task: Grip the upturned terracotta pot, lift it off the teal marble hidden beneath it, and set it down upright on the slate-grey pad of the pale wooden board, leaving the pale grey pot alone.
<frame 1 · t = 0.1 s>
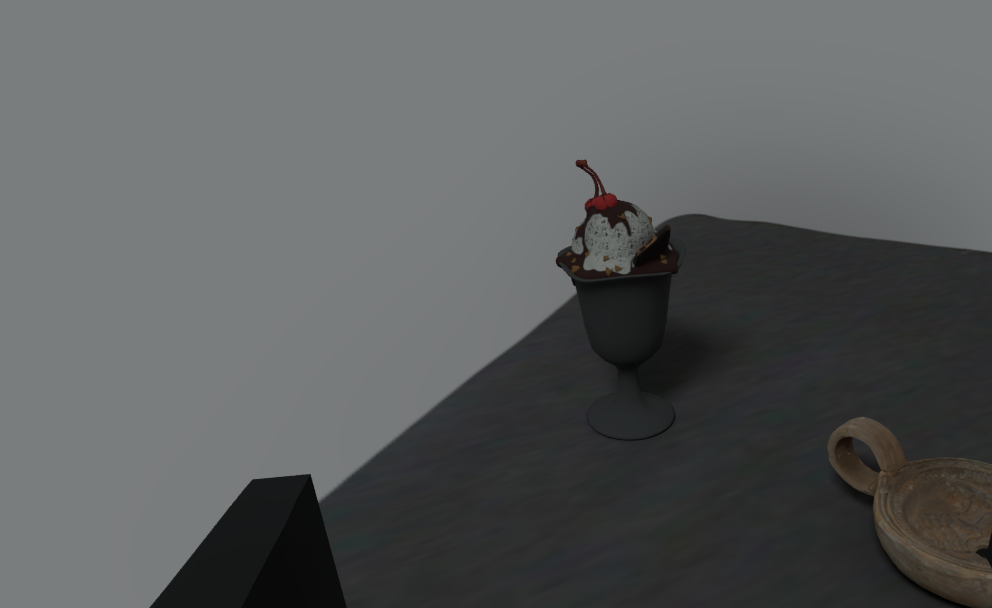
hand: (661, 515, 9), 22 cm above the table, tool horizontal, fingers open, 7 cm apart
oil lamp: (965, 572, 37), on the table
sundae: (629, 419, 50), on the table
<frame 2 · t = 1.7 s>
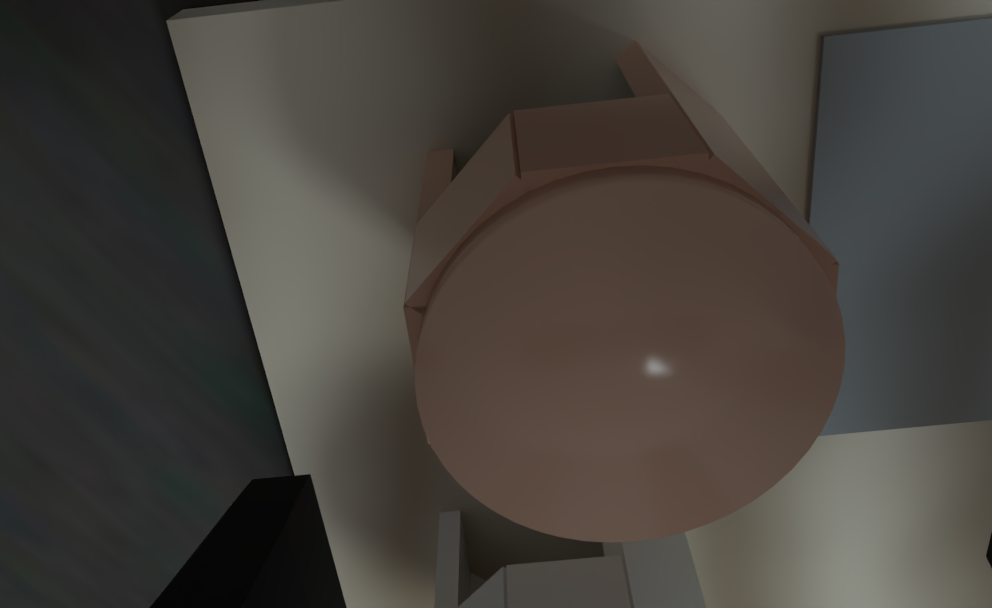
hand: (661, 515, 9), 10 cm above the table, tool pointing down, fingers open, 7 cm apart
grey pot: (559, 536, 21), point 1 cm above the table, touching board
terracotta pot: (578, 191, 17), point 1 cm above the table, touching board
board: (758, 376, 20), on the table
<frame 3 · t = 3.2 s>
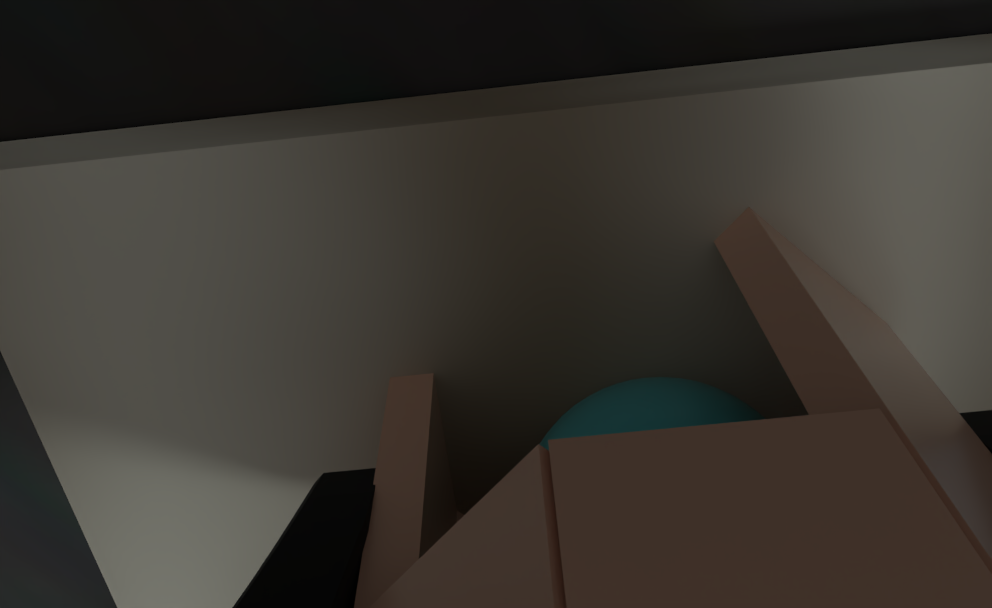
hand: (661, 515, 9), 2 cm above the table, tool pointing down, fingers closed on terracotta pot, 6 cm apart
terracotta pot: (639, 432, 10), point 1 cm above the table, touching board, gripper
marble: (662, 522, 9), point 2 cm above the table, touching board
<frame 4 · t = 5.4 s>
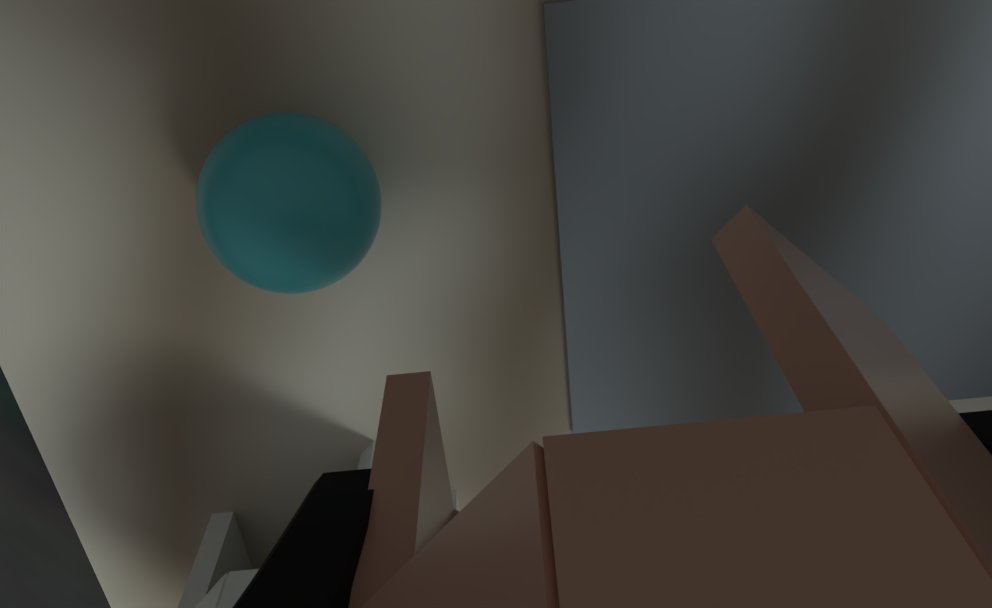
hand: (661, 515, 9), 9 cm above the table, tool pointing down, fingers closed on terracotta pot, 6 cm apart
grey pot: (343, 538, 20), point 1 cm above the table, touching board
terracotta pot: (636, 430, 10), point 8 cm above the table, touching gripper
board: (543, 369, 19), on the table
marble: (290, 203, 15), point 2 cm above the table, touching board
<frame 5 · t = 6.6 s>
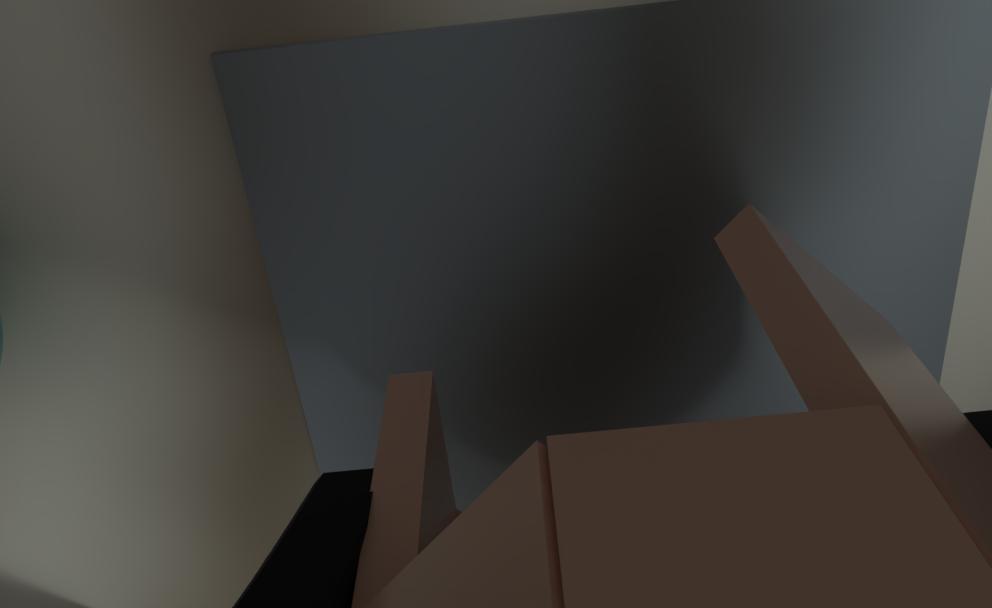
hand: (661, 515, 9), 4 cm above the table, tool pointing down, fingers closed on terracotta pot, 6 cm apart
terracotta pot: (639, 430, 10), point 3 cm above the table, touching gripper
board: (323, 514, 15), on the table
when the fingers open (4 cm above the table, at t = 7.6 s): terracotta pot drops 2 cm, resting on board.
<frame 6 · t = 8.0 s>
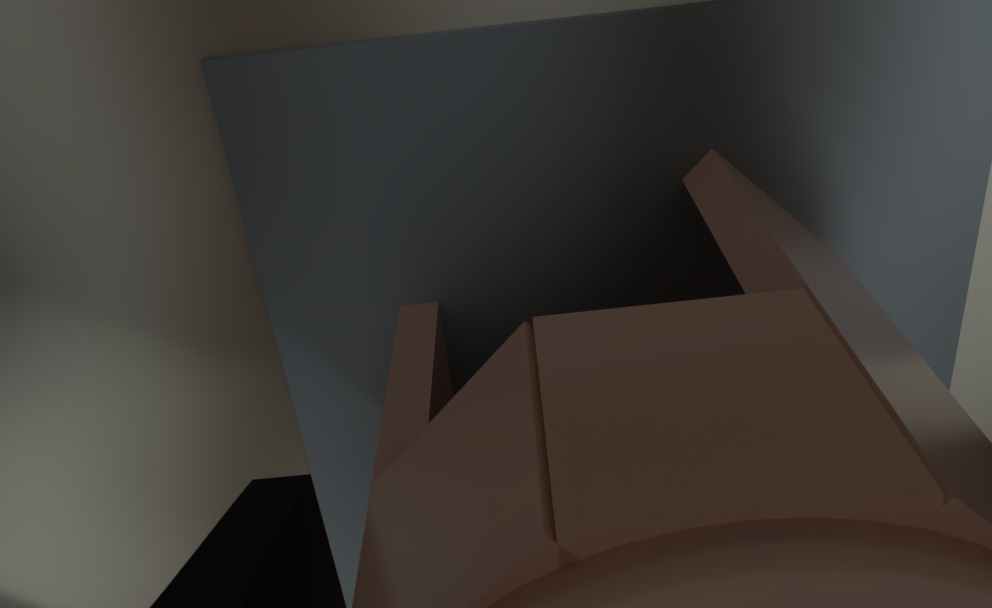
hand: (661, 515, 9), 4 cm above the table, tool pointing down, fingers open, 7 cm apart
terracotta pot: (620, 355, 12), point 1 cm above the table, touching board
board: (319, 526, 15), on the table
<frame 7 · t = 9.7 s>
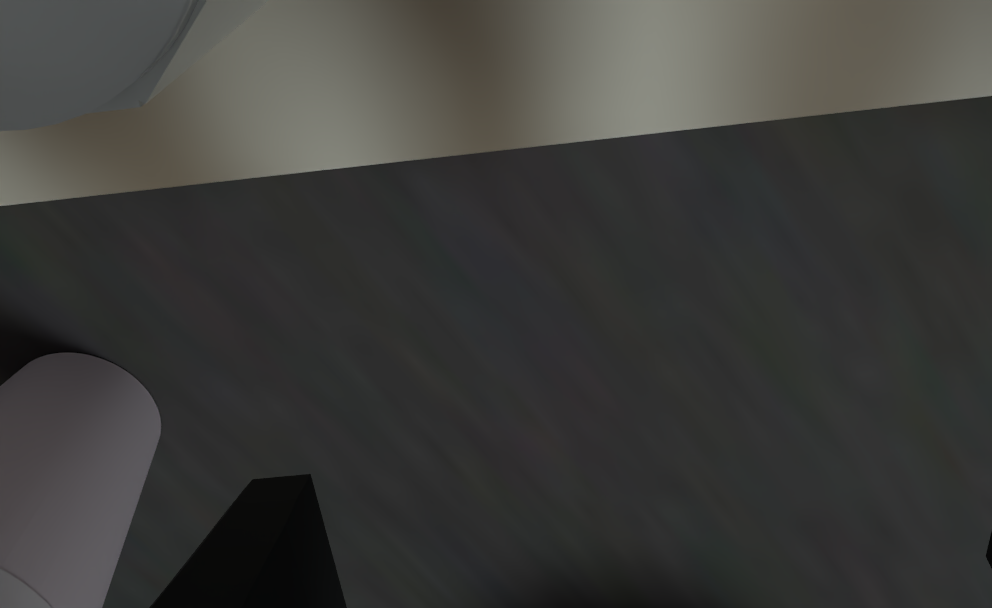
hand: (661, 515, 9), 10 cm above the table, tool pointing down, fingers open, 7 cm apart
smoothie: (89, 409, 22), on the table
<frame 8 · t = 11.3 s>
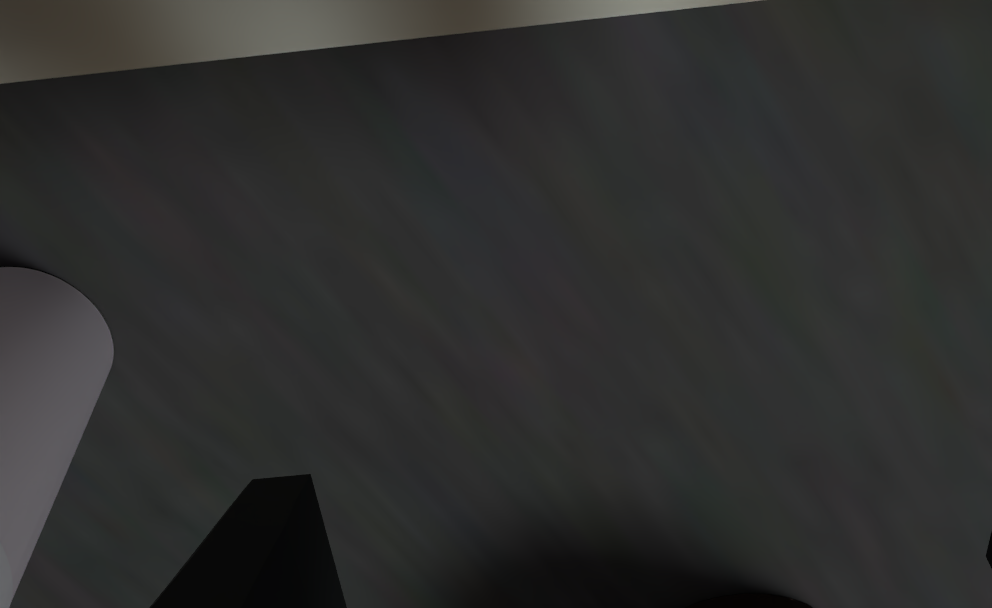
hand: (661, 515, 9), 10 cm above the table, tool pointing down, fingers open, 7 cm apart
smoothie: (36, 333, 20), on the table
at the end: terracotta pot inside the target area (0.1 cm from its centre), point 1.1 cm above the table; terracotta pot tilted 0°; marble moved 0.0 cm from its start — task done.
